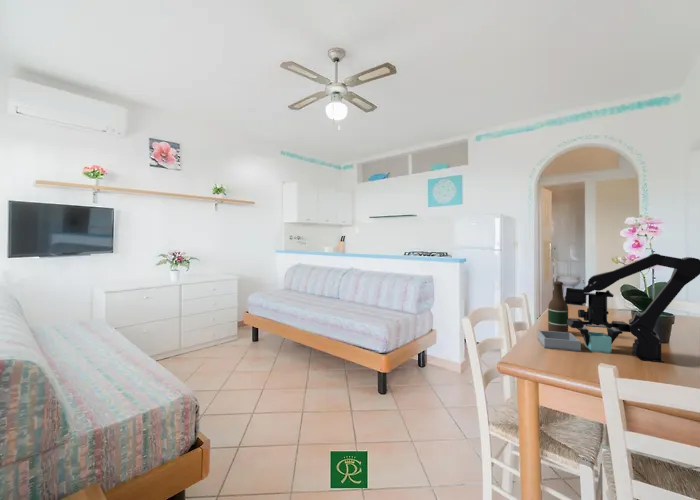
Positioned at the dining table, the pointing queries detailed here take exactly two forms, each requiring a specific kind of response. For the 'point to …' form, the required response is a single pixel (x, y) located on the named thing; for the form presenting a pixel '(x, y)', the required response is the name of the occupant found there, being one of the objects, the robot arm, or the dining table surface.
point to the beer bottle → (558, 310)
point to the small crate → (599, 342)
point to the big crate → (559, 341)
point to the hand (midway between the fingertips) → (597, 346)
